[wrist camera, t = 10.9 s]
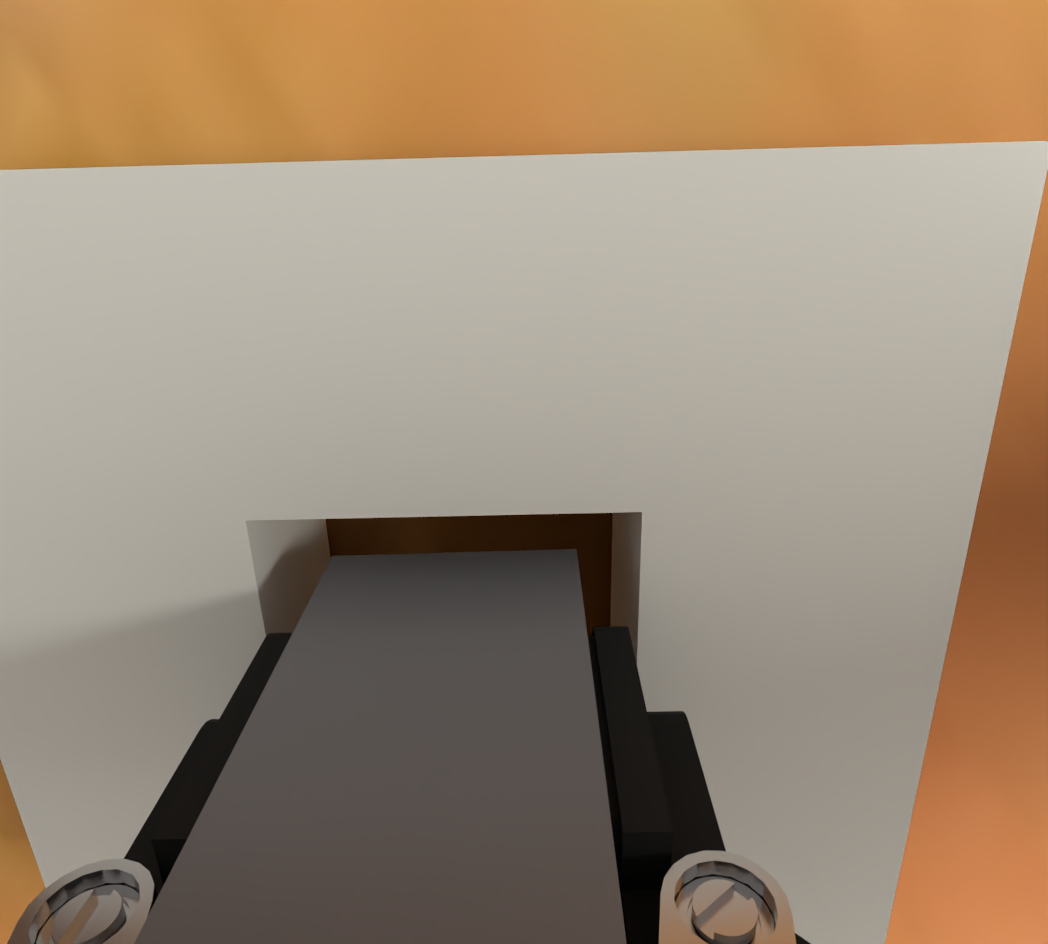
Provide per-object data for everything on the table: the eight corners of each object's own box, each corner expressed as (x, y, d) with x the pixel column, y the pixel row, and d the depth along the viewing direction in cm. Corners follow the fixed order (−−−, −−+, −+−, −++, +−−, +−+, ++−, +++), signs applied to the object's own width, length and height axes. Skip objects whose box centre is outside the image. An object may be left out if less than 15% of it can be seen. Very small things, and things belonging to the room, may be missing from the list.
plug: (576, 548, 12) (647, 1116, 5) (578, 744, 14) (636, 1409, 6) (332, 555, 12) (39, 1126, 5) (360, 750, 14) (167, 1413, 6)
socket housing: (905, 149, 13) (1053, 140, 10) (805, 840, 19) (872, 1001, 15) (-2, 174, 13) (-205, 175, 10) (173, 850, 19) (89, 1011, 16)
